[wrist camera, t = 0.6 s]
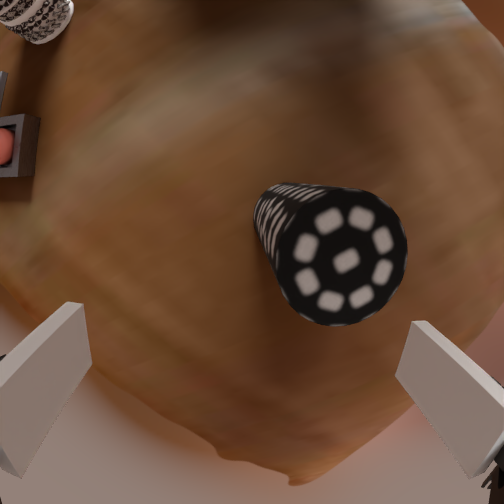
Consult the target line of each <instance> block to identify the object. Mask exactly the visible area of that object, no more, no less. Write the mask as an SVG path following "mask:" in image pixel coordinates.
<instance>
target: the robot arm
mask: <svg viewBox="0 0 504 504" xmlns="http://www.w3.org/2000/svg"><path fill="white" fill-rule="evenodd" d="M91 365H92V360H91V354H90V348H89V342H88V335H87V329H86V321H85V313H84V305H83V304H80V303H73V302H66V303H65V304H64V305H63V306H61V307H60V308H59V309H58V310H57V311H55V312H54V313H53V314H52V315H51V316H50V317H49V318H47V319H46V320H45V321H44V322H43V323H42V324H41V325H39V326H38V327H37V328H36V329H35V330H34V331H33V332H31V333H30V334H29V335H28V336H27V337H26V338H25V339H24V340H23V341H22V342H20V343H19V344H18V345H17V346H16V347H15V348H14V349H13V350H12V351H11V352H10V353H9V354H8V355H6V354H5V355H3V356H1V357H0V467H1V468H2V470H4V471H6V472H8V473H11V474H13V475H15V476H17V477H19V478H22V477H23V475H24V473H25V472H26V470H27V468H28V466H29V464H30V463H31V461H32V459H33V457H34V456H35V454H36V452H37V450H38V449H39V447H40V445H41V444H42V442H43V440H44V438H45V437H46V435H47V434H48V432H49V430H50V428H51V427H52V425H53V424H54V422H55V420H56V419H57V417H58V416H59V414H60V412H61V411H62V409H63V407H64V406H65V404H66V403H67V401H68V400H69V398H70V397H71V395H72V394H73V392H74V390H75V389H76V387H77V386H78V384H79V383H80V381H81V380H82V378H83V377H84V375H85V374H86V372H87V371H88V369H89V368H90V366H91ZM395 377H396V378H397V379H398V381H399V382H400V383H401V385H402V386H403V387H404V389H405V390H406V391H407V393H408V394H409V395H410V397H411V398H412V399H413V401H414V402H415V404H416V405H417V406H418V408H419V409H420V410H421V412H422V413H423V414H424V416H425V417H426V419H427V420H428V421H429V423H430V424H431V426H432V427H433V428H434V430H435V431H436V432H437V434H438V435H439V437H440V438H441V439H442V441H443V442H444V444H445V445H446V447H447V448H448V450H449V451H450V452H451V453H452V455H453V457H454V458H455V460H456V461H457V462H458V464H459V465H460V467H461V468H462V470H463V471H464V473H465V474H466V476H467V477H468V479H471V478H473V477H475V476H478V475H480V474H482V473H484V472H485V471H486V469H487V468H488V467H489V465H490V464H491V463H492V461H493V460H494V461H495V462H496V463H497V466H496V467H495V468H494V470H493V471H492V472H491V473H490V475H489V476H488V477H487V479H486V480H485V481H484V482H483V484H482V486H481V487H482V488H484V487H485V485H486V484H487V483H488V482H489V481H490V480H492V483H491V484H490V485H489V486H488V488H487V489H491V491H490V498H489V504H504V387H503V386H502V387H501V384H500V383H499V382H497V381H496V380H495V379H494V378H493V377H491V376H489V375H488V374H487V373H486V372H485V371H484V370H483V369H482V368H480V367H479V366H478V365H477V364H476V363H475V362H474V361H472V360H471V359H470V358H469V357H468V356H467V355H466V354H465V353H463V352H462V351H461V350H460V349H459V348H458V347H456V346H455V345H454V344H453V343H452V342H451V341H449V340H448V339H447V338H446V337H445V336H444V335H442V334H441V333H440V332H439V331H438V330H436V329H435V328H434V327H433V326H432V325H430V324H429V323H428V322H427V321H412V322H411V326H410V330H409V333H408V337H407V340H406V343H405V347H404V350H403V353H402V356H401V359H400V362H399V365H398V368H397V371H396V374H395ZM0 504H2V502H1V498H0Z"/></svg>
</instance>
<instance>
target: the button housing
mask: <svg viewBox="0 0 504 504" xmlns="http://www.w3.org/2000/svg"><path fill="white" fill-rule="evenodd" d="M40 119H41V118H40V117H36V116H32V115H28V114H19V115H12V116H6V117H0V128H3V129H9V130H14V131H15V140H14V149H13V159H12V163H10V164H8V165H0V177H23V176H34V174H35V161H36V150H37V141H38V133H39V126H40Z"/></svg>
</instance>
